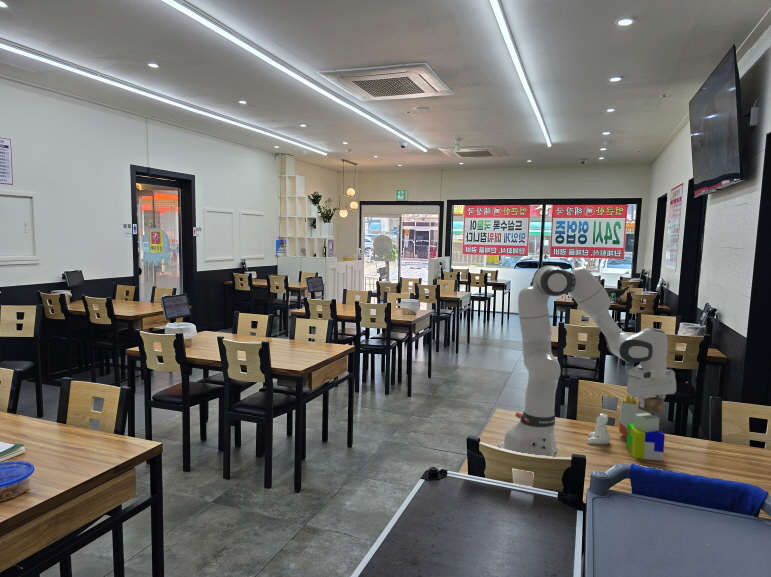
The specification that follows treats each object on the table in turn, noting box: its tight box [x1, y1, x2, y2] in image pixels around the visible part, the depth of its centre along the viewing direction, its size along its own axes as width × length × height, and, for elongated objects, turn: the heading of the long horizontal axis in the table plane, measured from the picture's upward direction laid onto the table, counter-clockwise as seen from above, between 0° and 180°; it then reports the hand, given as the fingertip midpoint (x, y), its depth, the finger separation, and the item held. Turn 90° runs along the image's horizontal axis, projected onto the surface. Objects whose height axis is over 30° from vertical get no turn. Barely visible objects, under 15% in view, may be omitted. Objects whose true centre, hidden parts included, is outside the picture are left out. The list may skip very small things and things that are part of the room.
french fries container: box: [618, 394, 650, 439], centre depth 209 cm, size 5×11×18 cm, turn 68°
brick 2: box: [634, 413, 660, 432], centre depth 192 cm, size 6×6×5 cm
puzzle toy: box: [626, 423, 666, 462], centre depth 193 cm, size 10×10×10 cm
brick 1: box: [637, 395, 665, 415], centre depth 191 cm, size 6×6×5 cm
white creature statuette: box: [586, 413, 612, 445], centre depth 204 cm, size 10×9×12 cm
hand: (651, 406), depth 191 cm, fingers closed on brick 1, 6 cm apart
